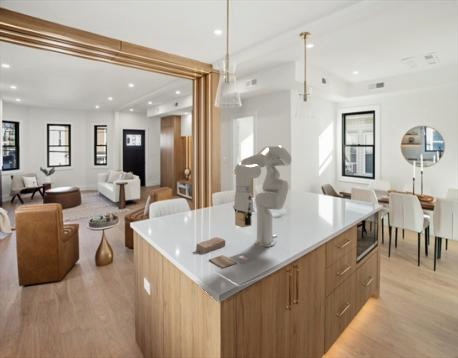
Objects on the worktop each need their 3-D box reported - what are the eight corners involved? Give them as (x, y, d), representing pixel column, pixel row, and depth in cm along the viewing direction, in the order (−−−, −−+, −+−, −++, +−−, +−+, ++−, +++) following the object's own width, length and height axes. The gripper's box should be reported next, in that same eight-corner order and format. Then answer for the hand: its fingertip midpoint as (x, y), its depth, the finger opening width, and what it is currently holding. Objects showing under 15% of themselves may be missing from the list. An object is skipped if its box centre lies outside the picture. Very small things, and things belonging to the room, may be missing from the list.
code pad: (244, 253, 144) (244, 252, 144) (258, 259, 135) (258, 258, 135) (228, 258, 137) (228, 257, 137) (242, 265, 129) (242, 264, 129)
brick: (204, 255, 143) (204, 246, 143) (195, 251, 149) (195, 243, 148) (226, 247, 155) (226, 239, 154) (216, 243, 161) (216, 236, 160)
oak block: (243, 222, 139) (243, 210, 138) (251, 225, 134) (251, 212, 133) (235, 225, 135) (235, 211, 134) (242, 227, 130) (242, 214, 130)
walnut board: (222, 257, 139) (222, 255, 139) (237, 264, 130) (237, 262, 129) (208, 261, 133) (208, 259, 133) (222, 269, 124) (222, 267, 124)
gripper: (260, 190, 128) (260, 225, 130) (237, 186, 141) (238, 218, 143) (249, 191, 123) (249, 228, 125) (227, 188, 137) (227, 221, 139)
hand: (243, 223), depth 134 cm, fingers closed on oak block, 6 cm apart
